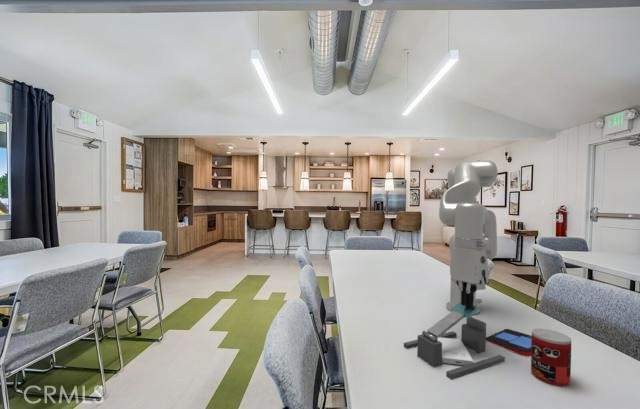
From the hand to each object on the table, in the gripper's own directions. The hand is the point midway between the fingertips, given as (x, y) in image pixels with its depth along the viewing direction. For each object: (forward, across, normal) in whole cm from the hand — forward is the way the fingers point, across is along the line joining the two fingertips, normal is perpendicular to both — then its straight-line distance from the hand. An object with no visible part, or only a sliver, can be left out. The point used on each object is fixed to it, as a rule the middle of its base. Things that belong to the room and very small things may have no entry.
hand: (467, 304), depth 85 cm
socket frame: (+14, 0, +5) cm, 15 cm away
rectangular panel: (+4, 0, +6) cm, 8 cm away
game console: (+14, -3, -20) cm, 24 cm away
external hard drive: (+14, 0, +5) cm, 15 cm away
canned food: (+14, -18, -8) cm, 24 cm away
